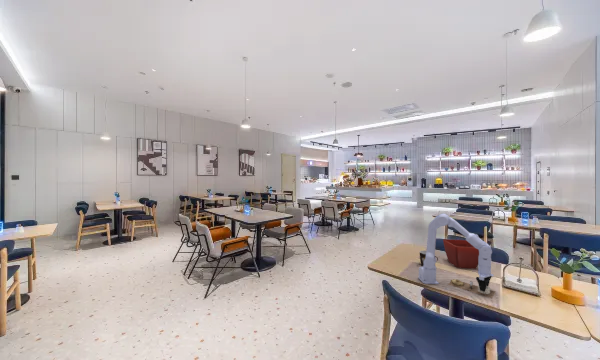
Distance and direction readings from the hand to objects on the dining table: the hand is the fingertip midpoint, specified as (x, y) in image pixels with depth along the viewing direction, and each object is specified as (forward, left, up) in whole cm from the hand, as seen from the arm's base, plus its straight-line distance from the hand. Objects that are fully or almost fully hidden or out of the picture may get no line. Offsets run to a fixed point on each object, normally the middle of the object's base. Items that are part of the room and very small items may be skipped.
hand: (484, 288), depth 134 cm
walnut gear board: (-4, +4, -3) cm, 7 cm away
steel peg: (-4, +4, -2) cm, 6 cm away
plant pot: (+14, +42, -3) cm, 45 cm away
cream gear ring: (0, 0, -2) cm, 2 cm away
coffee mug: (-13, +38, -3) cm, 41 cm away
